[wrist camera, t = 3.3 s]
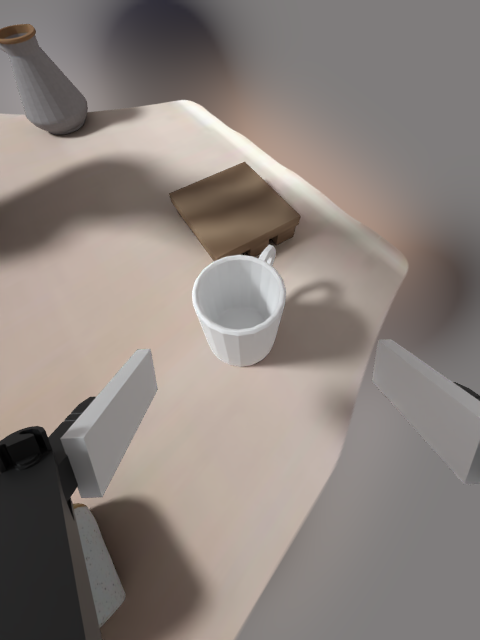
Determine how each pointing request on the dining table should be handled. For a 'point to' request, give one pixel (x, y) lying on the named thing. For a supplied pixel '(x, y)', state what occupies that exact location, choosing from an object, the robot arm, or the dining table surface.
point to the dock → (235, 212)
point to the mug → (240, 306)
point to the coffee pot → (42, 83)
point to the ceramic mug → (98, 566)
